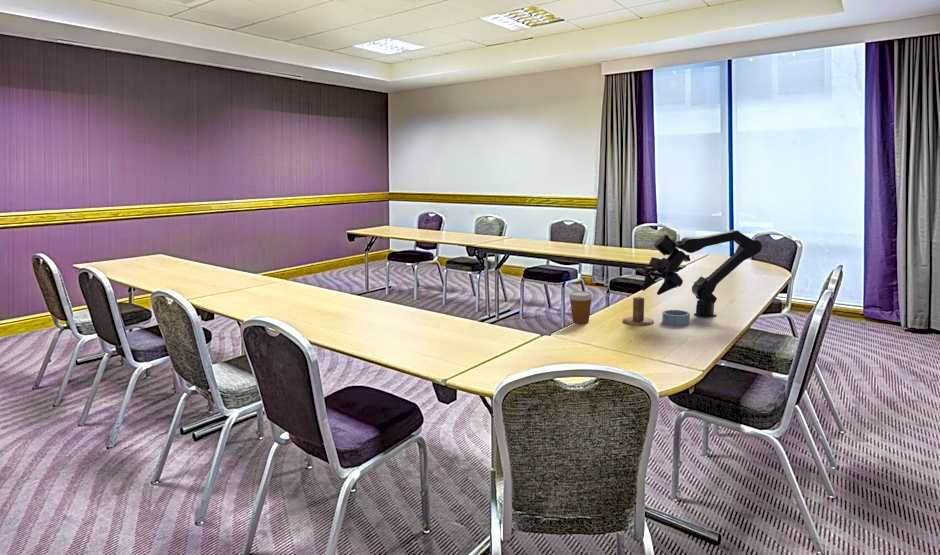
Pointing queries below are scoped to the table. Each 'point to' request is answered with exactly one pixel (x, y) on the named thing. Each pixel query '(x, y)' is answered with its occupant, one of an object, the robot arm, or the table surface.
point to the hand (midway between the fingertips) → (649, 292)
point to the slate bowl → (676, 317)
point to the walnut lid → (638, 314)
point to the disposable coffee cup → (580, 306)
